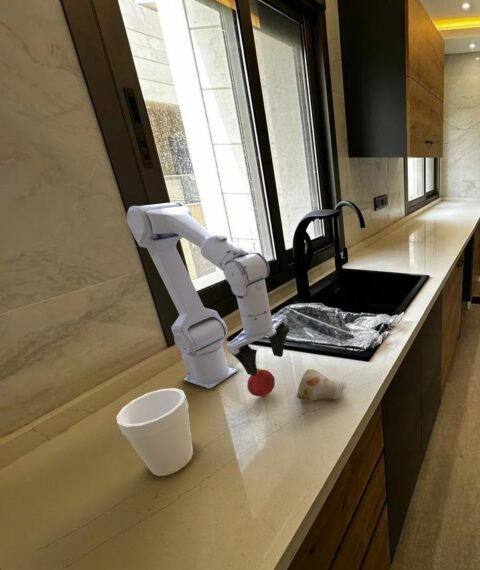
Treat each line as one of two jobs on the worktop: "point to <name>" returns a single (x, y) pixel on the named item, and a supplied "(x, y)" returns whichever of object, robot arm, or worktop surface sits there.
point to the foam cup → (159, 429)
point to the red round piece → (261, 383)
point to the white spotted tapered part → (317, 386)
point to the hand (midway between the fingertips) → (265, 364)
